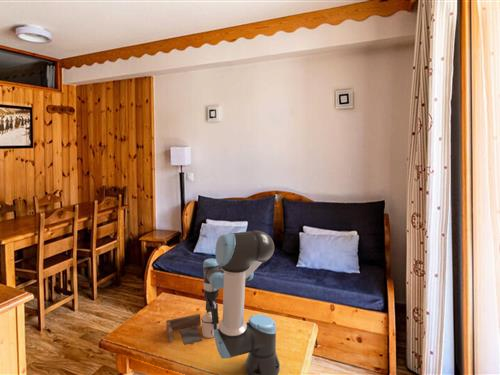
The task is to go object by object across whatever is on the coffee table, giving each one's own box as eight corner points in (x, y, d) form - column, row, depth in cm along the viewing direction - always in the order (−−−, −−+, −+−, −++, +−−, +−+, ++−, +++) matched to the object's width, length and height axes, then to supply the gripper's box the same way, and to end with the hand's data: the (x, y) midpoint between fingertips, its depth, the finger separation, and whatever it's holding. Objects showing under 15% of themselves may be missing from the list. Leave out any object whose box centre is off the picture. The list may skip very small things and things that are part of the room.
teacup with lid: (213, 340, 164) (212, 318, 162) (198, 335, 168) (197, 314, 166) (225, 328, 175) (224, 307, 173) (210, 324, 179) (210, 304, 177)
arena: (207, 339, 165) (206, 328, 164) (171, 347, 158) (170, 336, 157) (200, 323, 179) (199, 313, 178) (166, 331, 172) (166, 320, 171)
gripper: (224, 296, 159) (225, 339, 162) (212, 279, 179) (213, 318, 181) (209, 299, 156) (210, 342, 159) (199, 281, 176) (200, 320, 179)
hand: (212, 329), depth 170 cm, fingers closed on teacup with lid, 9 cm apart
